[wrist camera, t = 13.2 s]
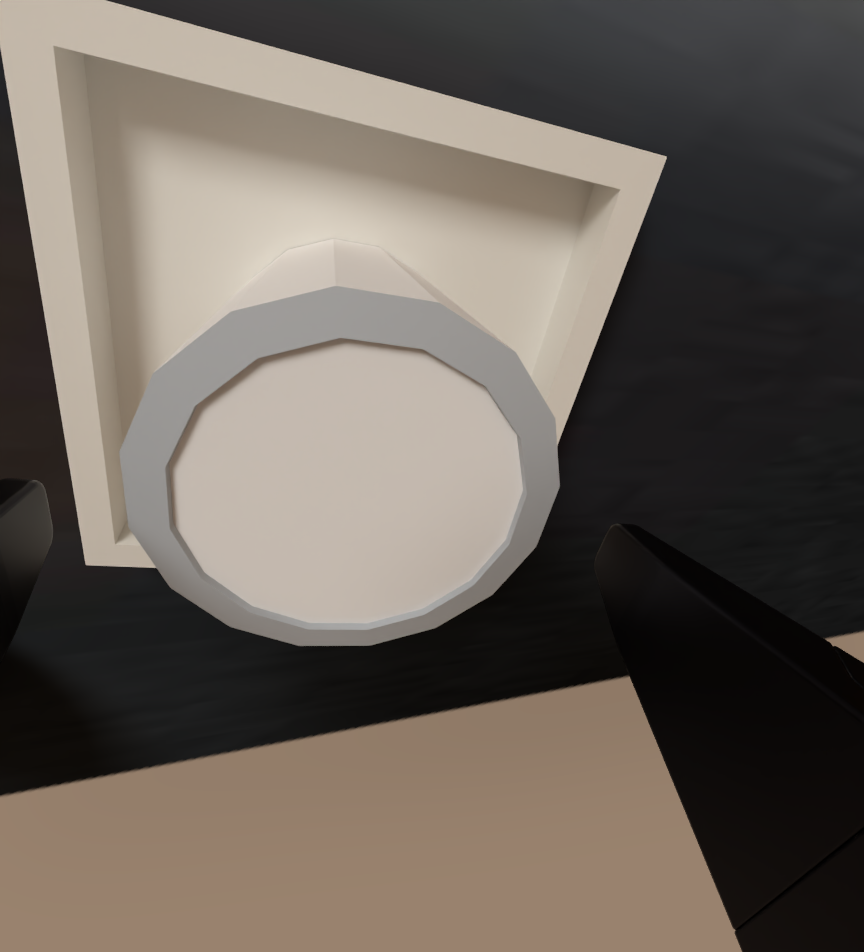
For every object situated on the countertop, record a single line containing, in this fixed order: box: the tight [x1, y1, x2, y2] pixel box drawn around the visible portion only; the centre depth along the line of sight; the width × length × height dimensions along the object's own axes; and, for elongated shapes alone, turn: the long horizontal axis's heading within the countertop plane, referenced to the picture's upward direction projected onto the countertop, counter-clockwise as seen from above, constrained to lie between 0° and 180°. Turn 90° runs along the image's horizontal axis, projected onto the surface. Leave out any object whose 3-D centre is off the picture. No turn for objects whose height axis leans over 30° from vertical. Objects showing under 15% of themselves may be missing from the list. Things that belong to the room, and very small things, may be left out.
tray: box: [0, 0, 667, 581], centre depth 14 cm, size 13×13×2 cm
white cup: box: [119, 239, 560, 646], centre depth 11 cm, size 7×7×7 cm
